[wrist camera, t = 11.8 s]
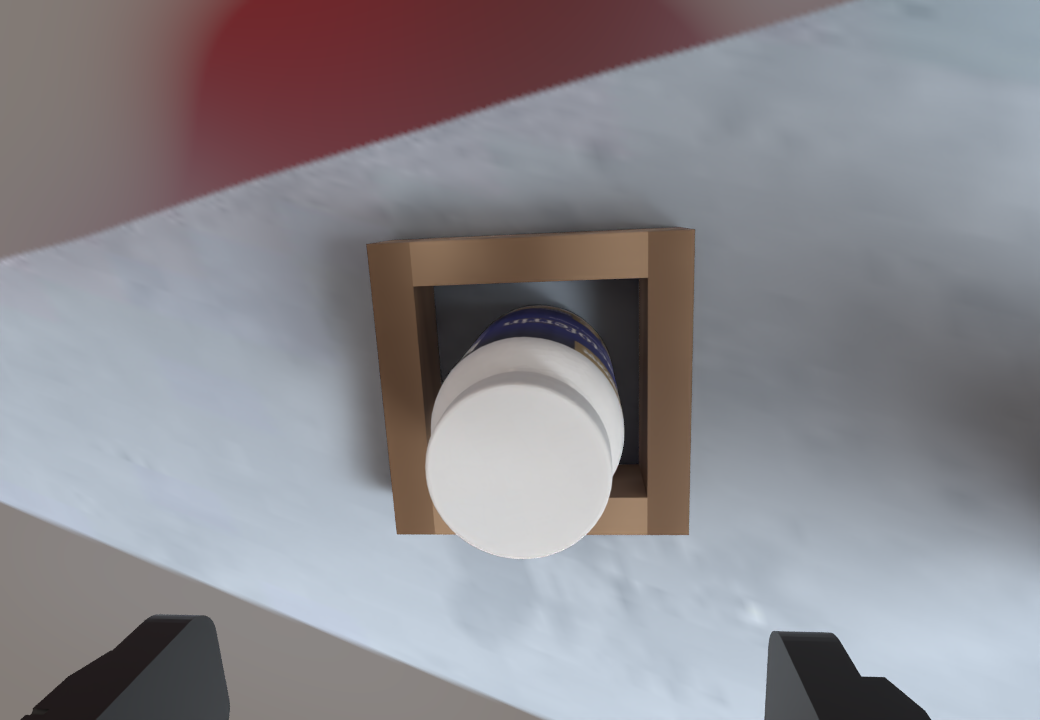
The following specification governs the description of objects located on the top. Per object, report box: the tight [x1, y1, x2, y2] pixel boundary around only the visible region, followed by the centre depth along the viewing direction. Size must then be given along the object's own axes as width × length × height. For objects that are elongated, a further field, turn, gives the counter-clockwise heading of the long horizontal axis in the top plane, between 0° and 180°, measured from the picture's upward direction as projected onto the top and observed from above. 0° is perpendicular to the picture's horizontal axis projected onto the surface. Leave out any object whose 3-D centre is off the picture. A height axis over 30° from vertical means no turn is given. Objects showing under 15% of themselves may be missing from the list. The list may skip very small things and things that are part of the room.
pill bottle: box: [425, 305, 624, 559], centre depth 20 cm, size 6×6×10 cm
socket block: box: [366, 227, 695, 535], centre depth 23 cm, size 11×11×3 cm
